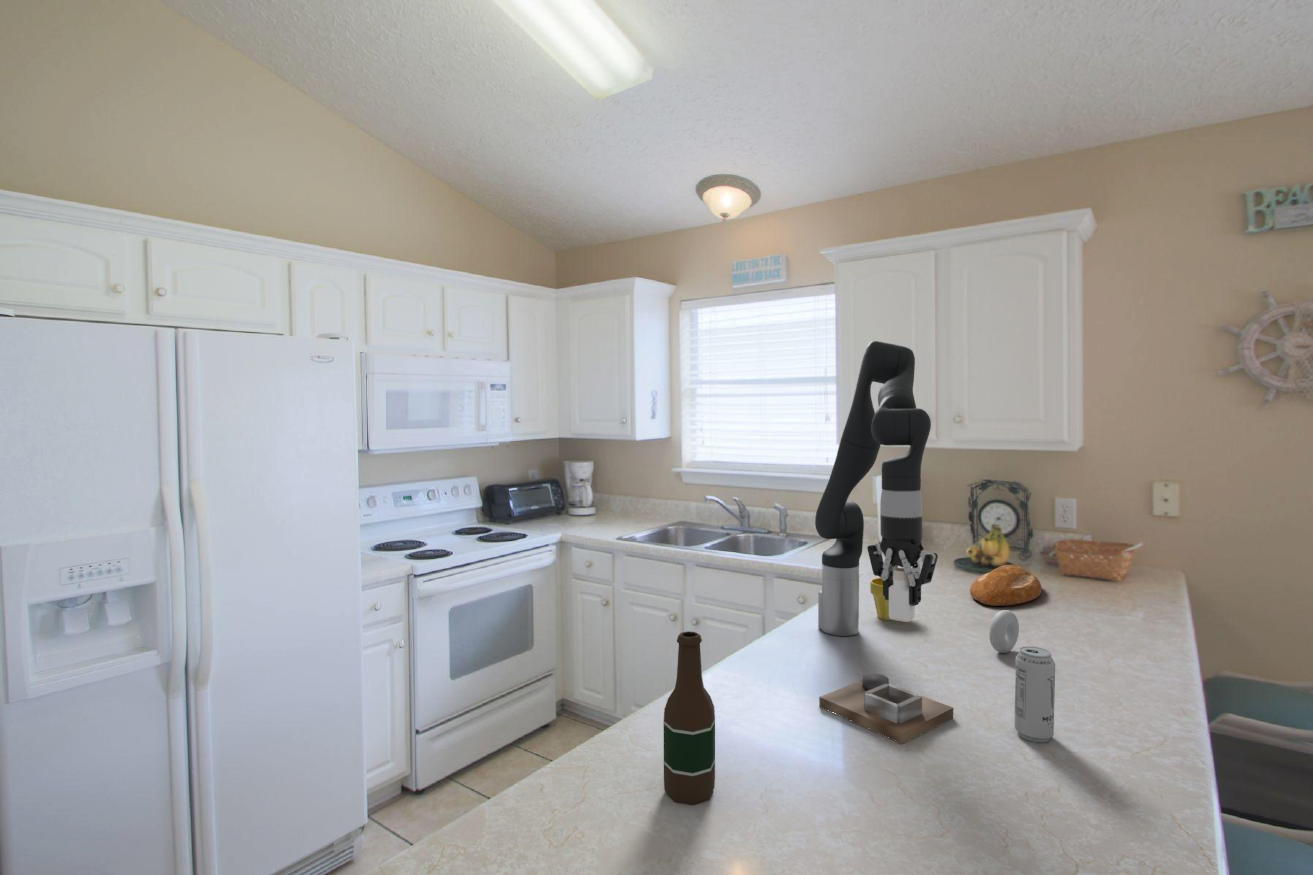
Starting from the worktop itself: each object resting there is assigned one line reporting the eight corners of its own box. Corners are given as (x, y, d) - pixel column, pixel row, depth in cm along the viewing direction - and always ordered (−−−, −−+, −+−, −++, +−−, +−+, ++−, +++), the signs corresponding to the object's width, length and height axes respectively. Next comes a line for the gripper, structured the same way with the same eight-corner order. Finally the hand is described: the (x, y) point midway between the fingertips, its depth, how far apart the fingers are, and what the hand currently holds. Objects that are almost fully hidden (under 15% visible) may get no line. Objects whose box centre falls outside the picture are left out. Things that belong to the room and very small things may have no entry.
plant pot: (868, 620, 183) (868, 584, 182) (871, 609, 192) (871, 575, 192) (909, 624, 179) (909, 588, 179) (910, 613, 189) (911, 578, 188)
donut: (1001, 659, 154) (1001, 616, 154) (985, 655, 157) (986, 612, 157) (1021, 649, 161) (1022, 608, 160) (1006, 645, 163) (1007, 604, 163)
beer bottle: (661, 778, 106) (660, 626, 105) (710, 775, 107) (710, 624, 105) (666, 807, 98) (665, 644, 97) (719, 804, 99) (719, 642, 98)
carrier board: (819, 706, 131) (819, 681, 130) (870, 686, 140) (870, 662, 140) (902, 744, 116) (902, 715, 116) (953, 718, 126) (953, 691, 125)
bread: (1054, 589, 213) (1055, 561, 213) (1018, 614, 188) (1019, 583, 188) (995, 579, 226) (995, 553, 225) (954, 602, 200) (954, 572, 200)
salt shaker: (894, 614, 133) (894, 566, 133) (915, 618, 130) (915, 569, 130) (887, 619, 130) (887, 570, 130) (909, 623, 127) (908, 572, 127)
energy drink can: (1052, 747, 115) (1054, 660, 114) (1012, 738, 118) (1014, 653, 117) (1054, 732, 120) (1056, 649, 119) (1015, 724, 123) (1017, 642, 122)
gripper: (947, 515, 126) (947, 606, 127) (879, 508, 138) (880, 591, 138) (925, 519, 122) (925, 613, 122) (857, 511, 133) (858, 598, 133)
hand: (901, 601), depth 130 cm, fingers closed on salt shaker, 4 cm apart
